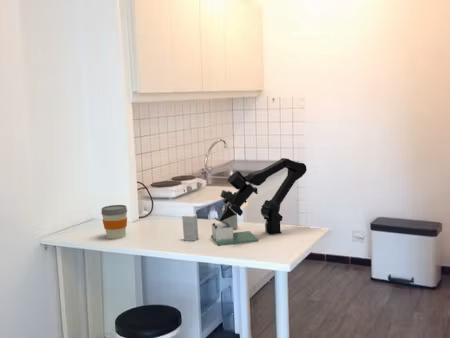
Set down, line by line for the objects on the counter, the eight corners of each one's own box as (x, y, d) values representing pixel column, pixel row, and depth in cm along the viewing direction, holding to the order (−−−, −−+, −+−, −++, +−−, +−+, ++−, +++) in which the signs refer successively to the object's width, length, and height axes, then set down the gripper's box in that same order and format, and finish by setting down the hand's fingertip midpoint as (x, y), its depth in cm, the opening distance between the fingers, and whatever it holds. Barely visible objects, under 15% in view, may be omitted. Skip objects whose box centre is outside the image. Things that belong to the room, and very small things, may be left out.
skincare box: (198, 238, 249) (197, 214, 247) (195, 241, 245) (193, 216, 243) (187, 238, 251) (185, 213, 249) (183, 240, 247) (181, 215, 245)
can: (238, 226, 268) (237, 203, 266) (237, 230, 260) (235, 207, 259) (223, 227, 269) (222, 204, 267) (222, 230, 261) (221, 207, 260)
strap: (227, 223, 245) (227, 222, 245) (228, 225, 241) (229, 224, 241) (214, 218, 243) (214, 217, 243) (215, 219, 240) (216, 218, 240)
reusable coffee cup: (98, 237, 260) (96, 208, 258) (119, 232, 269) (117, 203, 267) (113, 241, 251) (110, 211, 249) (134, 235, 261) (131, 206, 259)
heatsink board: (249, 233, 254) (248, 217, 253) (258, 241, 239) (257, 224, 238) (211, 236, 251) (210, 220, 250) (217, 245, 235) (216, 228, 234)
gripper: (226, 181, 250) (204, 205, 249) (234, 187, 232) (211, 213, 231) (242, 195, 253) (221, 220, 252) (252, 202, 235) (229, 229, 234)
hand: (220, 220), depth 242 cm, fingers closed, pressing on strap
